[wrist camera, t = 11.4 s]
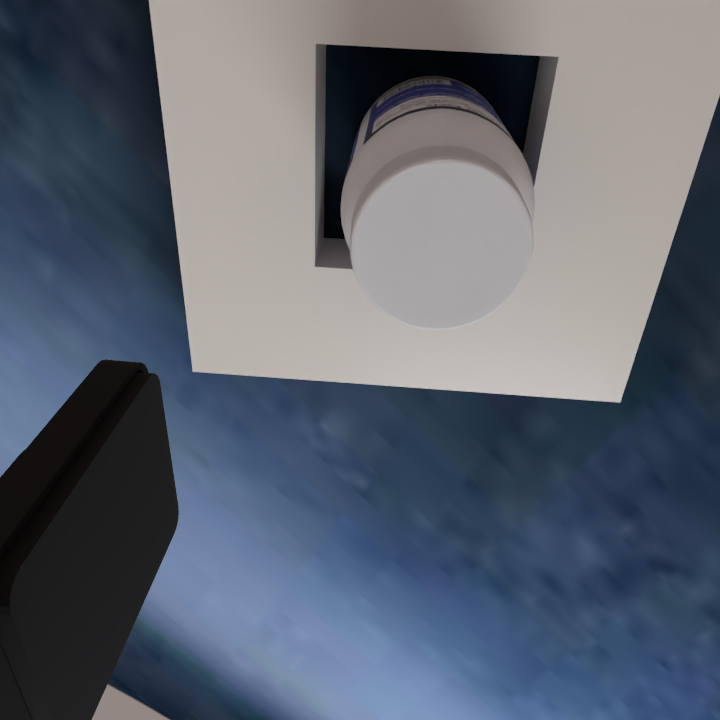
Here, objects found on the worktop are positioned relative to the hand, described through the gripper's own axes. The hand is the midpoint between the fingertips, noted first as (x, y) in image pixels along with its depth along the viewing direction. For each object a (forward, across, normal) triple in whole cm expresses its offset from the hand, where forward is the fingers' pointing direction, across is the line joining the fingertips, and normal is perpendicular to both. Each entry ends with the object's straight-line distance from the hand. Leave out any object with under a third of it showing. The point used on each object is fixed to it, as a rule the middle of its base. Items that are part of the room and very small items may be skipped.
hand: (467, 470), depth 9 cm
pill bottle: (+18, 0, 0) cm, 18 cm away
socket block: (+18, +1, 0) cm, 18 cm away
